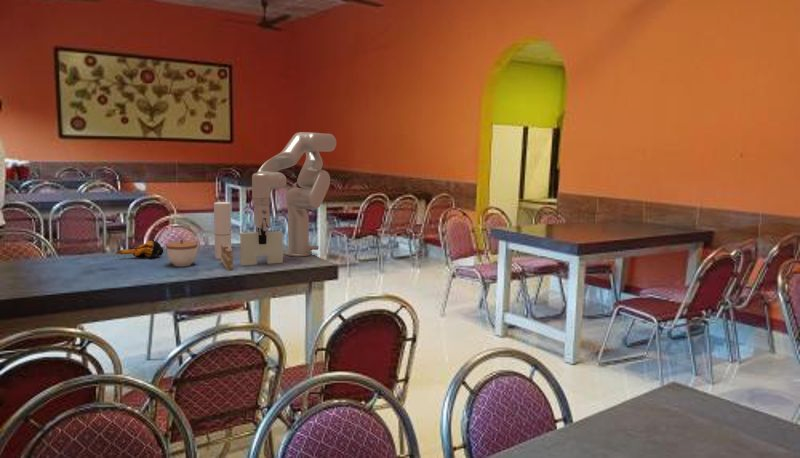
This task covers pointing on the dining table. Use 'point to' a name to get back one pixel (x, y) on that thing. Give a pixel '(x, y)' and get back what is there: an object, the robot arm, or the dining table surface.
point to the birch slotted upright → (227, 257)
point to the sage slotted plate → (261, 247)
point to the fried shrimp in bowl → (145, 250)
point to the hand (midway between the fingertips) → (261, 243)
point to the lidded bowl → (181, 252)
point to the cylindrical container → (222, 226)
